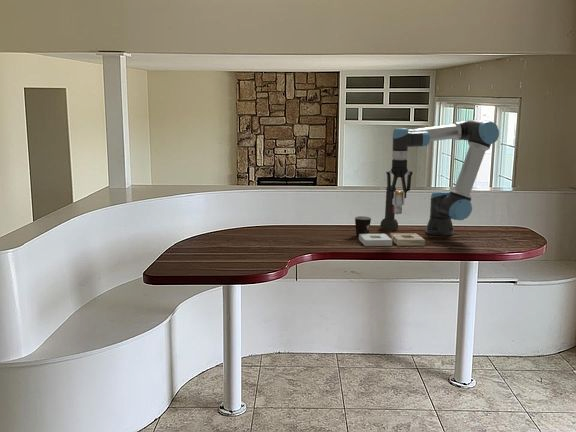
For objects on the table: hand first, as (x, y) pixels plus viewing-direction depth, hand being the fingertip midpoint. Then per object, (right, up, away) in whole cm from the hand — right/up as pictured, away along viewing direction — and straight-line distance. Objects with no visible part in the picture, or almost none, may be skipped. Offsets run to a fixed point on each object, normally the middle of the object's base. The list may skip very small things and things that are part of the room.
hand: (398, 204), depth 326 cm
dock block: (+5, -20, +4) cm, 21 cm away
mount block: (-12, -20, +2) cm, 23 cm away
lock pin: (0, -5, +1) cm, 5 cm away
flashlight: (+1, -14, +35) cm, 37 cm away
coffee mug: (-15, -17, +17) cm, 28 cm away
